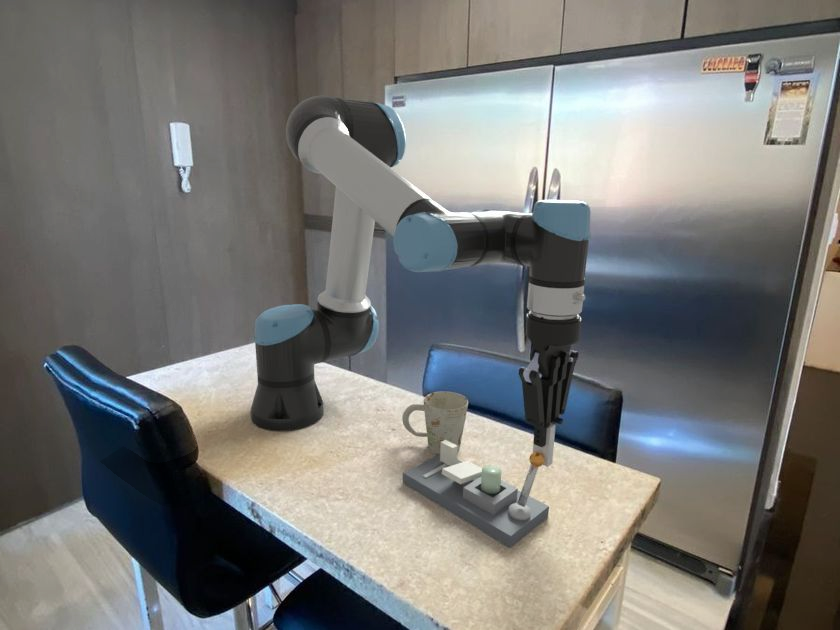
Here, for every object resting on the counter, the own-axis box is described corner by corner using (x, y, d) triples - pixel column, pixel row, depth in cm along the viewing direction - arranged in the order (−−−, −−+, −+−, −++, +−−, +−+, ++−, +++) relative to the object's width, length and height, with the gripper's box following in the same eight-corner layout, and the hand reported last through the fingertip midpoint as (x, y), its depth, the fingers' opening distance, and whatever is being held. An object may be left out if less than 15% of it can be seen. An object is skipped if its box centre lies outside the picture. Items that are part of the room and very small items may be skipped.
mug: (462, 462, 95) (465, 411, 92) (396, 453, 97) (397, 404, 95) (467, 440, 103) (470, 393, 100) (406, 433, 105) (407, 387, 103)
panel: (402, 483, 88) (403, 463, 87) (442, 461, 95) (443, 443, 94) (509, 548, 73) (511, 525, 72) (548, 517, 80) (550, 495, 79)
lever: (511, 501, 77) (529, 448, 78) (518, 502, 78) (536, 450, 79) (523, 508, 75) (542, 454, 76) (530, 508, 77) (548, 455, 78)
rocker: (441, 473, 83) (442, 468, 83) (466, 465, 88) (467, 460, 88) (460, 484, 81) (461, 478, 80) (485, 475, 85) (486, 470, 85)
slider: (439, 460, 90) (440, 442, 90) (444, 458, 91) (445, 439, 90) (451, 467, 89) (452, 448, 88) (456, 464, 89) (457, 445, 88)
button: (476, 487, 80) (478, 470, 80) (488, 480, 82) (489, 463, 82) (492, 496, 78) (493, 478, 78) (504, 488, 80) (505, 471, 80)
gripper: (554, 327, 66) (540, 489, 72) (600, 309, 75) (585, 455, 81) (505, 316, 71) (496, 468, 77) (554, 300, 80) (543, 438, 86)
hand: (542, 461), depth 79 cm, fingers closed
